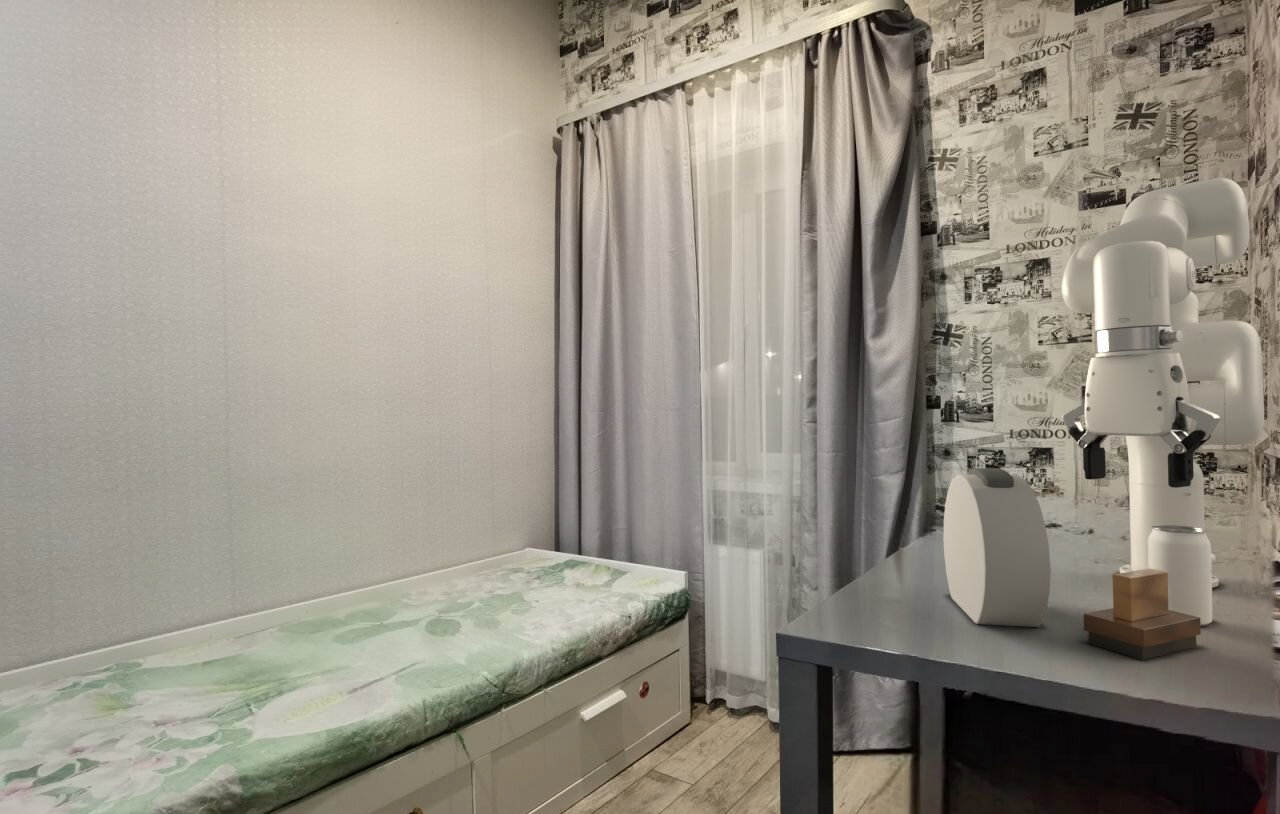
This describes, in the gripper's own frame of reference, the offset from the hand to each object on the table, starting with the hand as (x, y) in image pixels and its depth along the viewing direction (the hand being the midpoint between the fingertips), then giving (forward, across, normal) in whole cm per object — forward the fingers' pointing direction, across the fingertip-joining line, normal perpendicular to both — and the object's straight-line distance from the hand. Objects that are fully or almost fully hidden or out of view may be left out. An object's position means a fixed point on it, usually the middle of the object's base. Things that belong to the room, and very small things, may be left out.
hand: (1135, 482), depth 82 cm
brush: (+19, -3, +4) cm, 19 cm away
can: (+19, +1, -11) cm, 22 cm away
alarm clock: (+19, +14, +8) cm, 25 cm away
